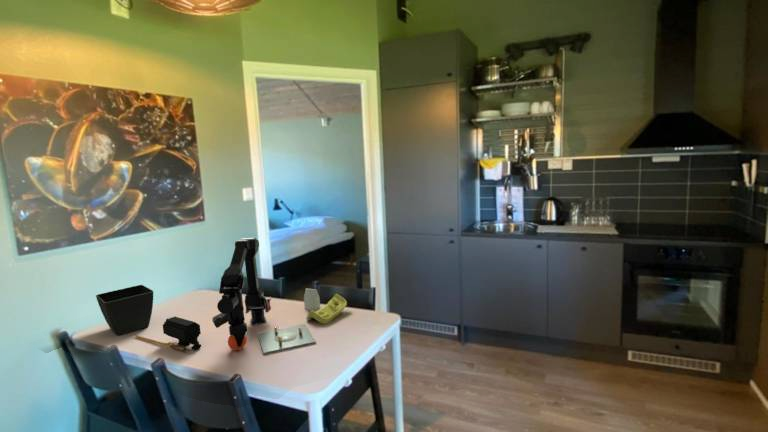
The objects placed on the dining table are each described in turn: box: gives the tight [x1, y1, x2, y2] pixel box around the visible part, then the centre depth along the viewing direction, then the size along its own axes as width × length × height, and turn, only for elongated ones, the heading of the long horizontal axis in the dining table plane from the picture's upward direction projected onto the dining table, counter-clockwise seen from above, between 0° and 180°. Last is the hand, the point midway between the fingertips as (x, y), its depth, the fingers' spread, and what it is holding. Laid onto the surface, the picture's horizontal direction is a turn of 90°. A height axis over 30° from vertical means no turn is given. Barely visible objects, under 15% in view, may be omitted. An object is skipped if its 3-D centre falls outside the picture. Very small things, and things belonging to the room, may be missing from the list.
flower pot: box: [95, 284, 154, 336], centre depth 187 cm, size 19×19×17 cm
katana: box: [134, 334, 187, 352], centre depth 168 cm, size 1×35×3 cm, turn 60°
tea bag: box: [303, 288, 321, 312], centre depth 201 cm, size 4×7×10 cm, turn 61°
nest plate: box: [257, 323, 317, 356], centre depth 167 cm, size 20×20×1 cm
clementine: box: [227, 332, 249, 351], centre depth 160 cm, size 8×7×7 cm
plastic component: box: [305, 293, 348, 325], centre depth 191 cm, size 20×7×10 cm
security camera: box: [162, 316, 202, 351], centre depth 166 cm, size 7×18×10 cm, turn 58°
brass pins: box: [273, 326, 302, 344], centre depth 168 cm, size 12×10×3 cm
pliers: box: [245, 296, 272, 313], centre depth 210 cm, size 12×20×3 cm, turn 179°
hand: (238, 342), depth 160 cm, fingers closed on clementine, 7 cm apart
